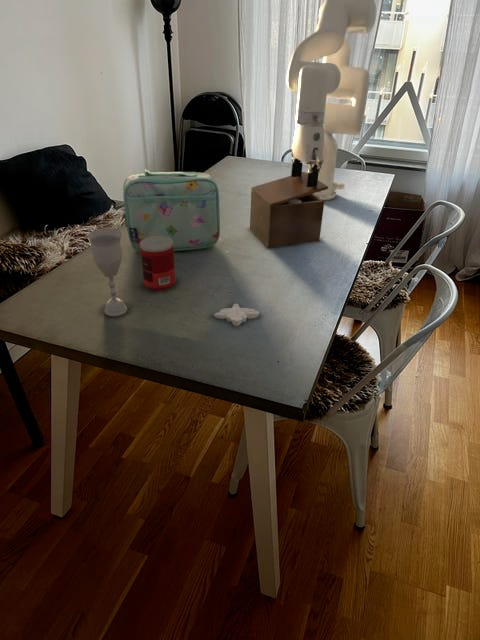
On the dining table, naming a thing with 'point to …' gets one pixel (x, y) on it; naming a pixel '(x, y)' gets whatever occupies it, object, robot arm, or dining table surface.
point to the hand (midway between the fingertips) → (303, 181)
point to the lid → (286, 189)
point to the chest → (286, 221)
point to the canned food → (158, 262)
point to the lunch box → (172, 208)
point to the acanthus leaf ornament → (236, 314)
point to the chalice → (108, 263)
